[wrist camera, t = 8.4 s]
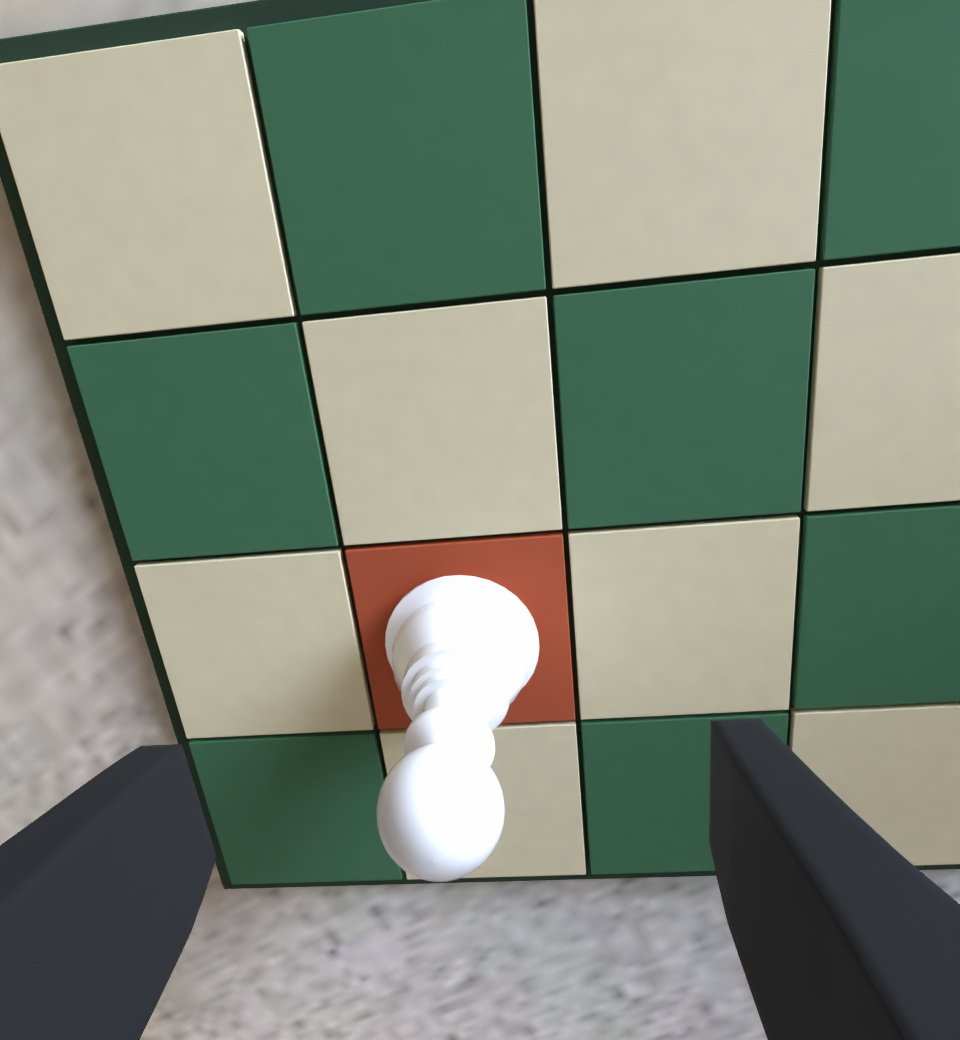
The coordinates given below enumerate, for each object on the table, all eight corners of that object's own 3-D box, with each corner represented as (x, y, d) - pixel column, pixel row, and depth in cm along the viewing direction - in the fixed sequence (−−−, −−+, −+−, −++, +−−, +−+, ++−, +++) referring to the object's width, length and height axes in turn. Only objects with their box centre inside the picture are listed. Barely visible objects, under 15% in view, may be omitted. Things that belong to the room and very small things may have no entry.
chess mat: (986, 860, 15) (997, 876, 15) (227, 882, 17) (219, 896, 16) (1182, -133, 9) (1210, -149, 9) (-33, 47, 11) (-53, 41, 10)
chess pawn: (522, 558, 13) (520, 743, 8) (551, 691, 14) (564, 924, 9) (369, 585, 13) (283, 777, 8) (409, 712, 14) (351, 947, 9)
